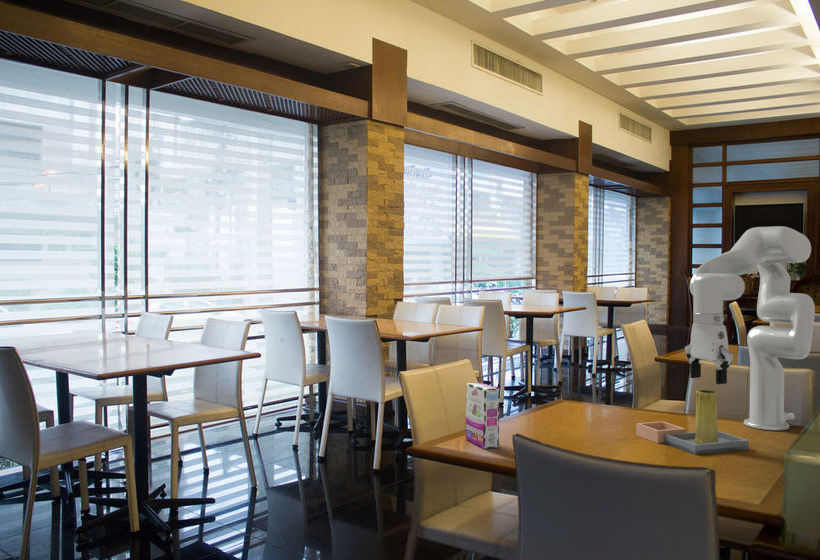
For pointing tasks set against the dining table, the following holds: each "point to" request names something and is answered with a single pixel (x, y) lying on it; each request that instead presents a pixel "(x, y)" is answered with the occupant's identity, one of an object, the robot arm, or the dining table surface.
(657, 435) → the holder
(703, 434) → the vase
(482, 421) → the candy bar box
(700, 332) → the robot arm
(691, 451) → the tray
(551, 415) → the dining table surface
